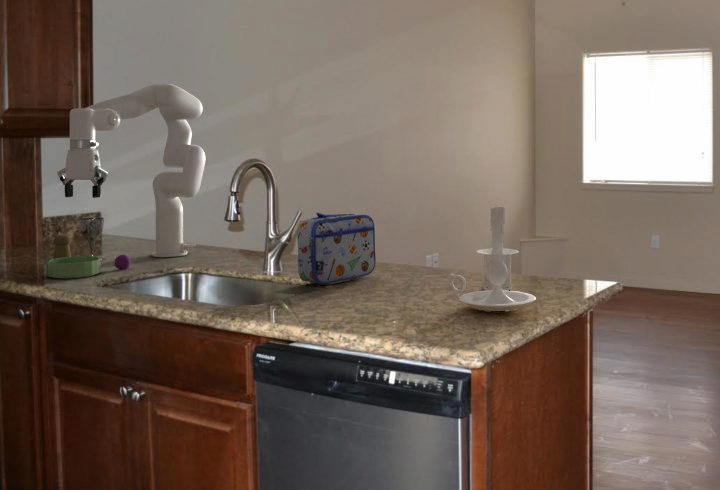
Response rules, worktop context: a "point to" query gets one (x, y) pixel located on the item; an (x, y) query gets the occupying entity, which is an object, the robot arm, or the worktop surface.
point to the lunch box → (336, 248)
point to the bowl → (73, 267)
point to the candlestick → (495, 275)
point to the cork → (62, 246)
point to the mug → (486, 265)
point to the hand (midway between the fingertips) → (82, 197)
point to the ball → (122, 262)
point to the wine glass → (91, 229)
